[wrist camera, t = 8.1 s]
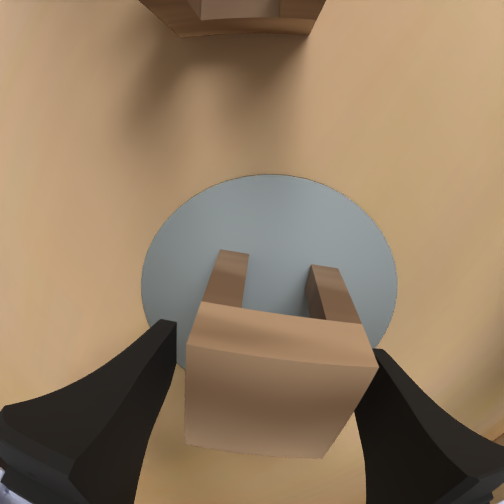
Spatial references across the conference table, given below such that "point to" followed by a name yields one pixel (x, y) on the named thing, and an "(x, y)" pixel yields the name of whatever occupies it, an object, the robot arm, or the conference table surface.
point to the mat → (268, 252)
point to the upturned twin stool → (236, 16)
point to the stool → (274, 367)
